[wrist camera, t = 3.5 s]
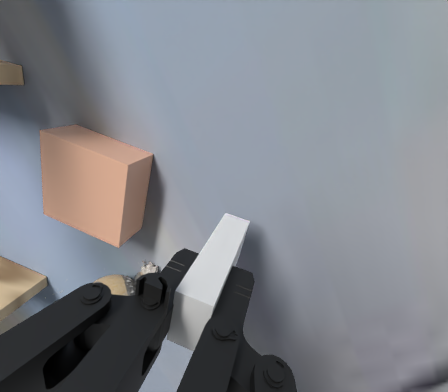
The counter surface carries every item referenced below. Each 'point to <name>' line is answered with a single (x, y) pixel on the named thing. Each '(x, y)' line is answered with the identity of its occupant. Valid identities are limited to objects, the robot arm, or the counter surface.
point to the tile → (94, 182)
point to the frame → (3, 268)
